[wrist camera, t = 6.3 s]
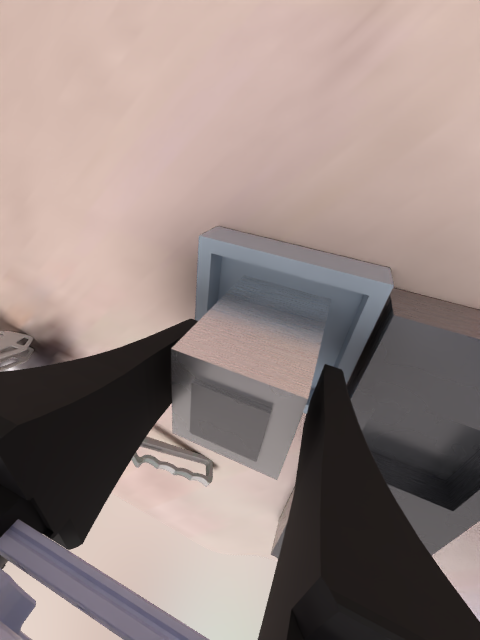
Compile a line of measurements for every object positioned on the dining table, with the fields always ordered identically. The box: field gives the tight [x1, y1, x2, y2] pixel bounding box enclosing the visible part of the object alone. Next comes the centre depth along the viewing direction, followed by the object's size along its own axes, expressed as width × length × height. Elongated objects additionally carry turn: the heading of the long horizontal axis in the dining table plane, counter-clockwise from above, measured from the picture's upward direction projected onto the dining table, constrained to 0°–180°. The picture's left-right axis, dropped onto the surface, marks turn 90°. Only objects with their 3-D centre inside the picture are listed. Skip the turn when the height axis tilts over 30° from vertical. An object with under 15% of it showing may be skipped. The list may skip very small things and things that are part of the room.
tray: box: [195, 226, 394, 414], centre depth 13 cm, size 8×8×2 cm
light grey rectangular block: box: [171, 276, 331, 480], centre depth 11 cm, size 4×4×6 cm
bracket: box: [0, 330, 213, 487], centre depth 22 cm, size 3×21×10 cm, turn 65°
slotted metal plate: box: [271, 288, 480, 558], centre depth 16 cm, size 7×22×2 cm, turn 172°
